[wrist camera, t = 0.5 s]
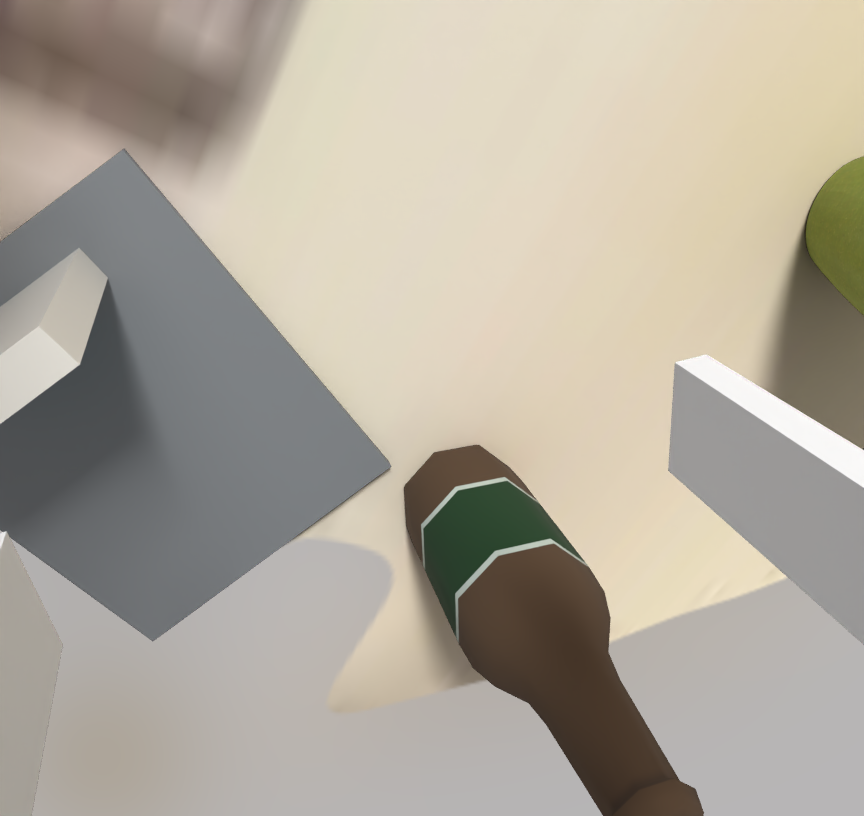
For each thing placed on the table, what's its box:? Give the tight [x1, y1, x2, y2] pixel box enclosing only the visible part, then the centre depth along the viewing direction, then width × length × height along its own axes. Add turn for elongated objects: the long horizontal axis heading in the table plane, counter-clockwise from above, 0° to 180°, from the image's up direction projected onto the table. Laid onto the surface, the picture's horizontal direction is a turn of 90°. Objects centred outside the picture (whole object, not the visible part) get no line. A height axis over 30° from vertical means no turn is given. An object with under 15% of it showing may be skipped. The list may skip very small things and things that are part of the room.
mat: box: [0, 149, 391, 641], centre depth 39 cm, size 22×18×1 cm
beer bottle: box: [404, 445, 704, 816], centre depth 37 cm, size 8×8×24 cm
